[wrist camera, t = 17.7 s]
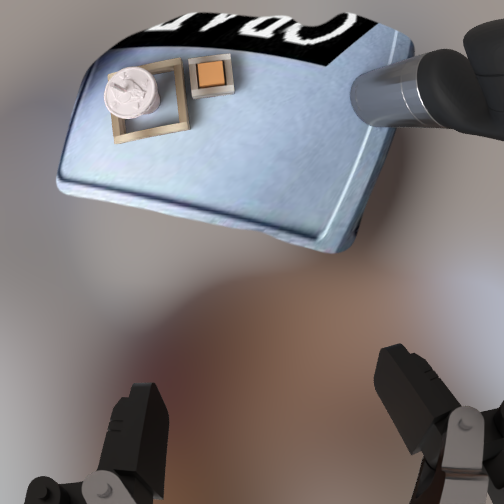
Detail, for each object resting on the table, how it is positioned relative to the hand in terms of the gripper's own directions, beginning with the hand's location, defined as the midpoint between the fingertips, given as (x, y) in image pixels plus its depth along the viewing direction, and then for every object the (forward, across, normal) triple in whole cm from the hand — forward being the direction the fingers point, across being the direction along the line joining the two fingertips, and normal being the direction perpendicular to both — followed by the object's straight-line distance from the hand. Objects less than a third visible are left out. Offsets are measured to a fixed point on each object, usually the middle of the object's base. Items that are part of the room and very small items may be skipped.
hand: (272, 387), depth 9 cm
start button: (+35, +1, -18) cm, 39 cm away
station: (+36, +7, -15) cm, 40 cm away
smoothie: (+36, +10, -16) cm, 41 cm away
